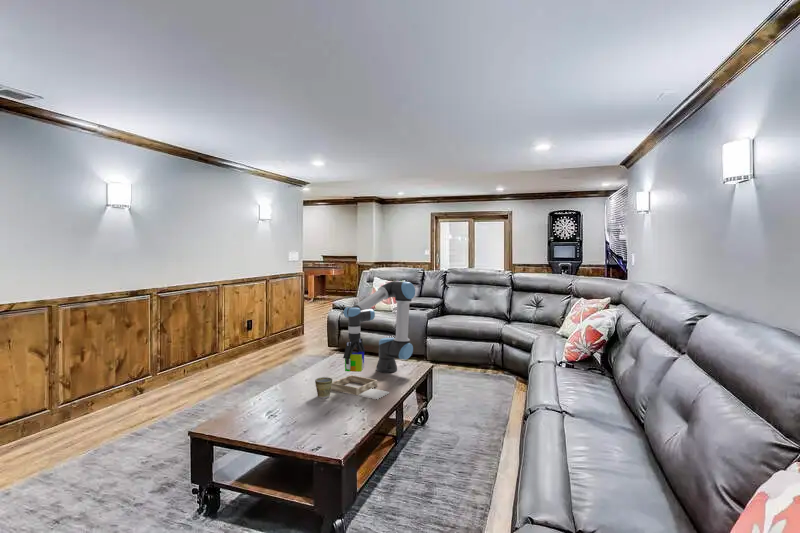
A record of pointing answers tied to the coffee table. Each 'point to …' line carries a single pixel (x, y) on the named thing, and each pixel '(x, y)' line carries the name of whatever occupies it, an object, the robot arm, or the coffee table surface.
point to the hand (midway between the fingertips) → (354, 366)
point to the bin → (341, 387)
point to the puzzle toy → (356, 362)
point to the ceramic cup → (323, 387)
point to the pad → (374, 393)
